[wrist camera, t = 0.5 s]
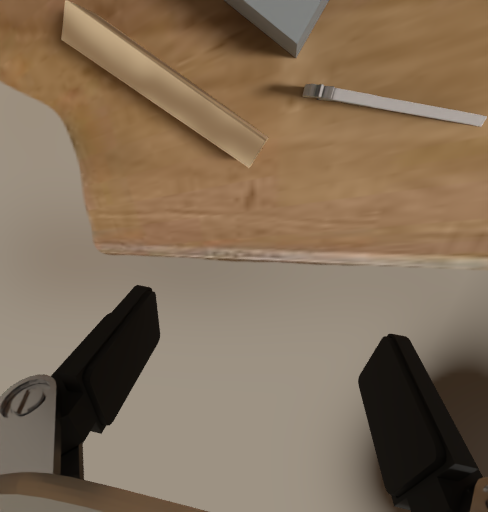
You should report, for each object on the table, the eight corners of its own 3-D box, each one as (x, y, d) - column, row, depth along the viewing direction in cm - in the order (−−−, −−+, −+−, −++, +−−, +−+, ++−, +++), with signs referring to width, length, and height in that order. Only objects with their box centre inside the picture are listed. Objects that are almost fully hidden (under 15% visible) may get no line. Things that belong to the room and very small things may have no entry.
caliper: (301, 97, 29) (303, 95, 24) (304, 86, 28) (306, 81, 23) (478, 126, 27) (523, 131, 22) (485, 115, 27) (532, 117, 22)
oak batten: (99, 15, 28) (65, -1, 24) (268, 137, 32) (265, 141, 27) (93, 49, 30) (61, 39, 26) (254, 160, 33) (249, 168, 29)
